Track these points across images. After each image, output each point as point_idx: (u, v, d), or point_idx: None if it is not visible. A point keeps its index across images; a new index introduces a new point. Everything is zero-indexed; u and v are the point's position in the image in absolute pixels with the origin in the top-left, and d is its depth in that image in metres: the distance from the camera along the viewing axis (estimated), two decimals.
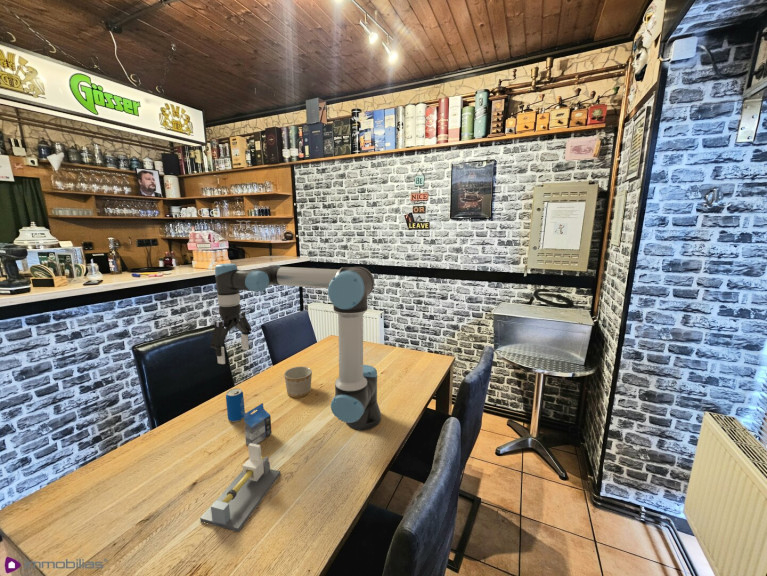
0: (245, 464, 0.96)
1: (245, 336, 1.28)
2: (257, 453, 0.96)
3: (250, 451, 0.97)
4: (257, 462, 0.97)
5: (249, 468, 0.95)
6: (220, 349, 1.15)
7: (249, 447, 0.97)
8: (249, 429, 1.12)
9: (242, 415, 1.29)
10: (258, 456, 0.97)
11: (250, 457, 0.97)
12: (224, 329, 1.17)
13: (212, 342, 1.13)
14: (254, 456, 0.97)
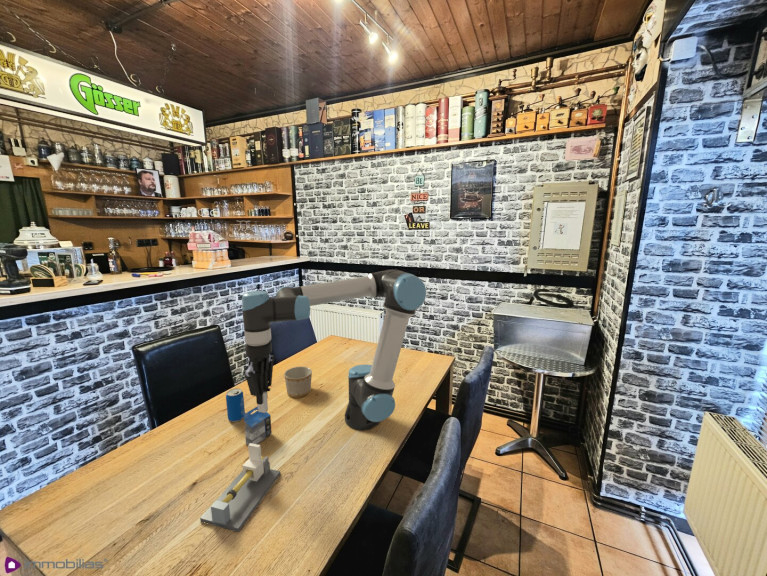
0: (245, 464, 0.96)
1: None
2: (257, 453, 0.96)
3: (250, 451, 0.97)
4: (257, 462, 0.97)
5: (249, 468, 0.95)
6: (261, 396, 0.98)
7: (249, 447, 0.97)
8: (249, 429, 1.12)
9: (242, 415, 1.29)
10: (258, 456, 0.97)
11: (250, 457, 0.97)
12: (257, 374, 0.96)
13: (251, 391, 0.95)
14: (254, 456, 0.97)
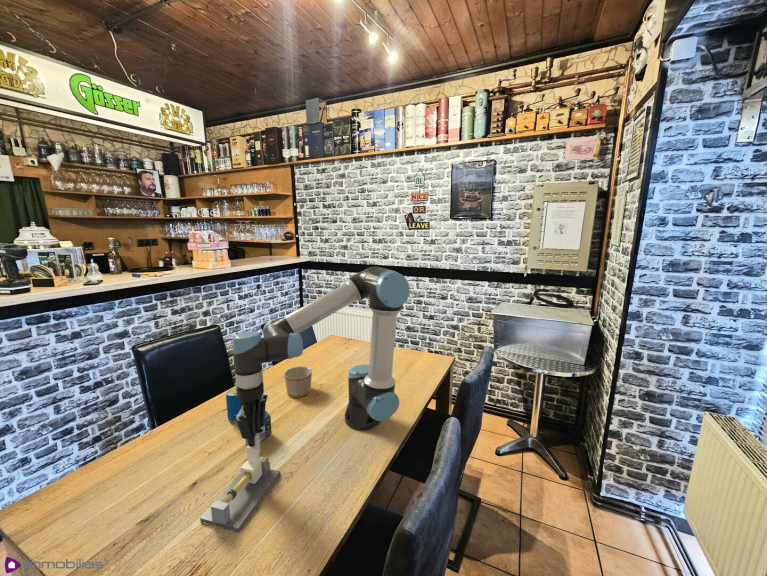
0: (243, 466, 0.95)
1: None
2: (255, 455, 0.96)
3: (248, 453, 0.96)
4: (255, 464, 0.96)
5: (247, 470, 0.94)
6: (253, 438, 0.95)
7: (247, 449, 0.96)
8: None
9: None
10: (256, 458, 0.96)
11: (248, 459, 0.97)
12: (248, 417, 0.93)
13: (242, 434, 0.92)
14: (252, 458, 0.96)
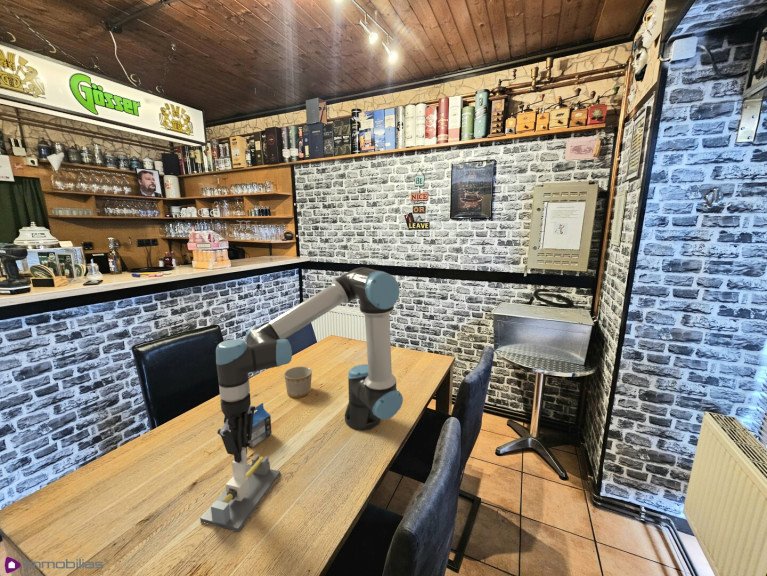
0: (228, 482, 0.89)
1: None
2: (242, 471, 0.90)
3: (234, 468, 0.90)
4: (241, 480, 0.90)
5: (232, 487, 0.88)
6: (240, 453, 0.89)
7: (233, 464, 0.90)
8: None
9: None
10: (243, 474, 0.90)
11: (234, 475, 0.91)
12: (234, 431, 0.87)
13: (228, 450, 0.86)
14: (238, 474, 0.90)
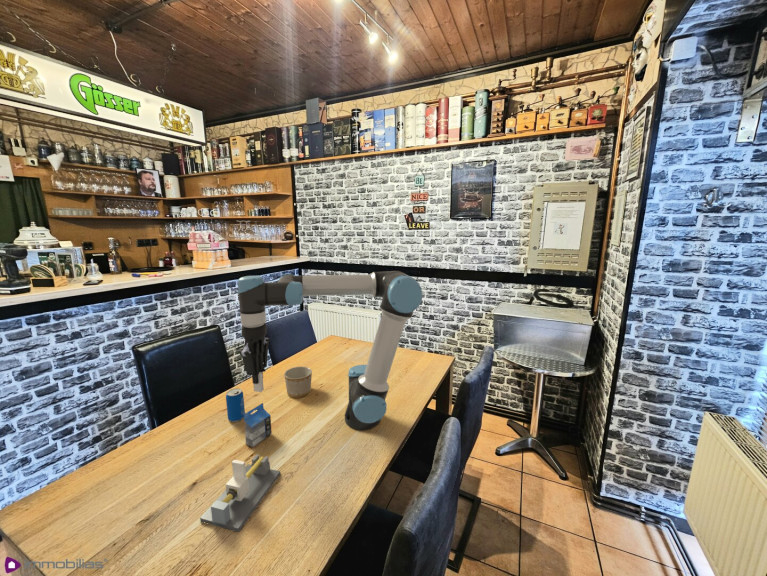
0: (228, 483, 0.89)
1: None
2: (242, 471, 0.90)
3: (234, 468, 0.90)
4: (241, 480, 0.90)
5: (232, 487, 0.88)
6: (257, 376, 1.03)
7: (233, 464, 0.90)
8: (249, 429, 1.12)
9: (242, 415, 1.29)
10: (242, 474, 0.90)
11: (234, 475, 0.91)
12: (253, 355, 1.01)
13: (247, 371, 1.00)
14: (238, 474, 0.90)
